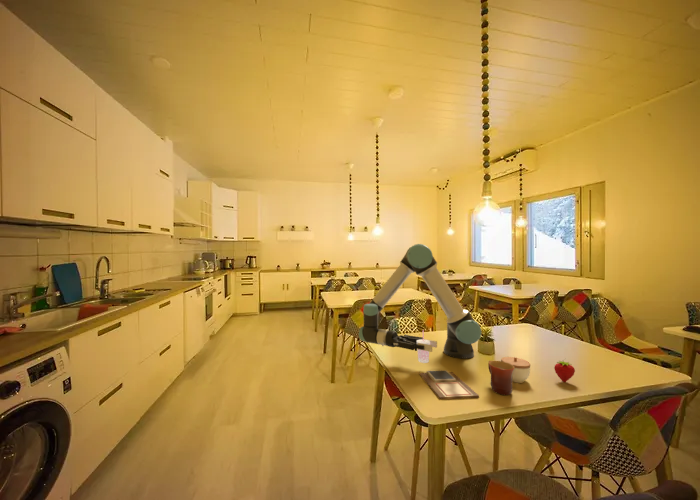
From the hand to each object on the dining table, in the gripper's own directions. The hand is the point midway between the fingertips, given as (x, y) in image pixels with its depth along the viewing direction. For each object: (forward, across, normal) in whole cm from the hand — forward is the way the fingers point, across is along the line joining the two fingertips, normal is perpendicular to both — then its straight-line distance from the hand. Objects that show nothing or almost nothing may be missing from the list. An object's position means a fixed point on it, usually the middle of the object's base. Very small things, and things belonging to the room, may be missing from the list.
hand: (434, 346), depth 123 cm
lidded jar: (+30, -14, -12) cm, 36 cm away
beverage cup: (-5, 0, -8) cm, 9 cm away
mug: (+25, 0, -12) cm, 28 cm away
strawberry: (+47, -23, -13) cm, 54 cm away
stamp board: (+8, +9, -12) cm, 17 cm away
